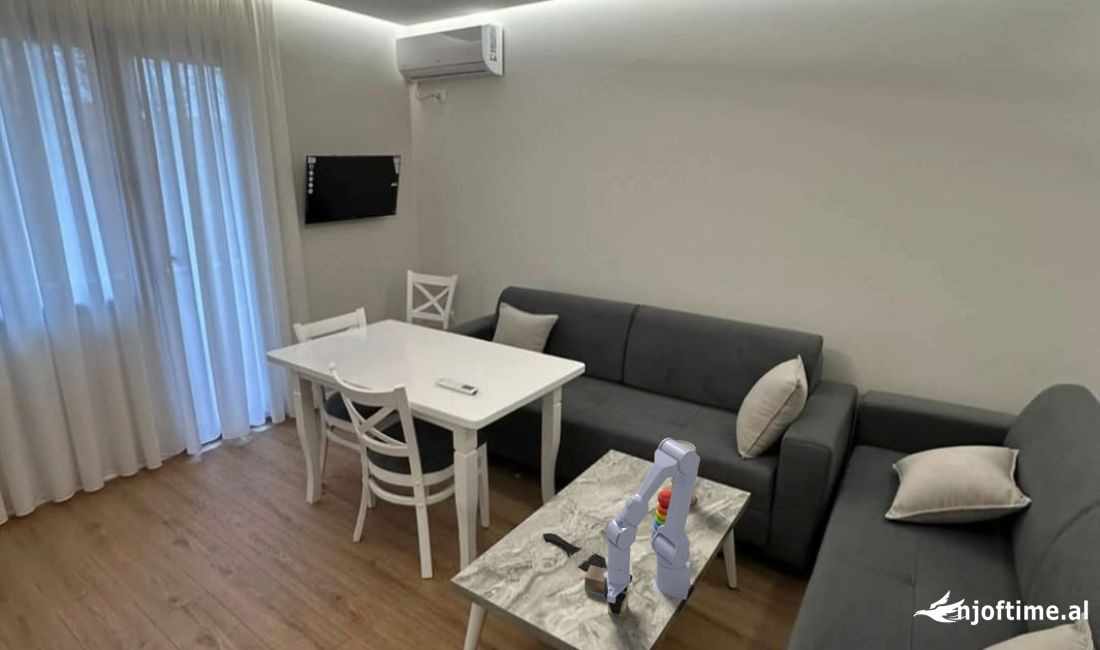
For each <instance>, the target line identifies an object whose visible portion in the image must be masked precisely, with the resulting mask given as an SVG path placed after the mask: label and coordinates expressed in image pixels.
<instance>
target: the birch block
mask: <svg viewBox="0 0 1100 650" xmlns="http://www.w3.org/2000/svg"><path fill="white" fill-rule="evenodd" d="M620 593H623V594H626V597H625V599H624V601H623V602H622V606H621V611H620V613H619V615H617V614H613V613H612V612H611V609H610V606H609V603H608V602H607V613H608V614H610V615H611V614H612V615H616V616H617V617H618V616H619V617H622V618H625V615H626V613H627V610H628V607H629V591H627V592H626V591H621V592H620Z"/></svg>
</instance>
